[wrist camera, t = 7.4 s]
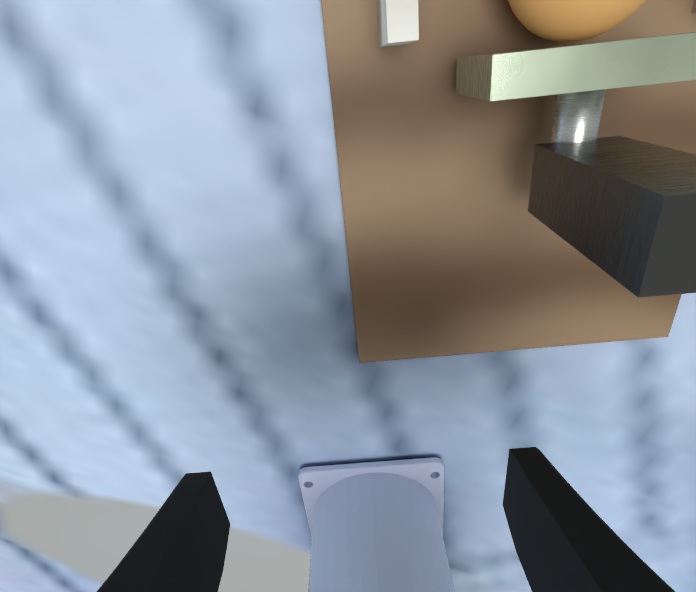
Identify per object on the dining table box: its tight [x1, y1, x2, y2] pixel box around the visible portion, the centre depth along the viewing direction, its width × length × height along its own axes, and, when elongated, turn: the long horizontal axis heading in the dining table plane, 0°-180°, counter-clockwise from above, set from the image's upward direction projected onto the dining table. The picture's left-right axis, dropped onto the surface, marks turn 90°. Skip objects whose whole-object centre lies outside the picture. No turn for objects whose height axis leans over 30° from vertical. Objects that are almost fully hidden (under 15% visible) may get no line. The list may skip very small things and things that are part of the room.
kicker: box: [456, 32, 696, 298], centre depth 11 cm, size 5×6×8 cm
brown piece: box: [321, 0, 696, 363], centre depth 13 cm, size 20×14×6 cm
